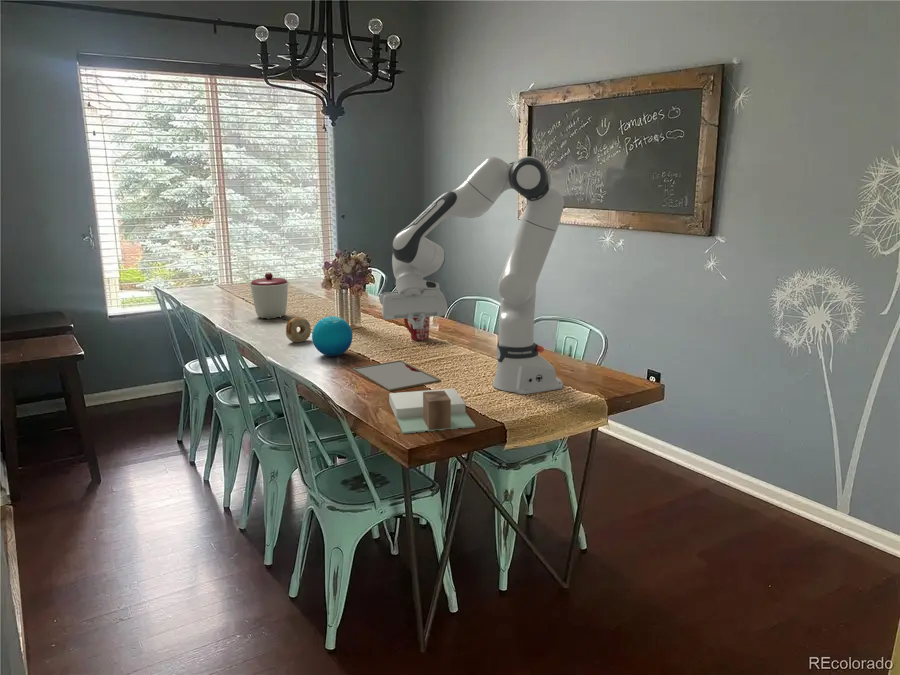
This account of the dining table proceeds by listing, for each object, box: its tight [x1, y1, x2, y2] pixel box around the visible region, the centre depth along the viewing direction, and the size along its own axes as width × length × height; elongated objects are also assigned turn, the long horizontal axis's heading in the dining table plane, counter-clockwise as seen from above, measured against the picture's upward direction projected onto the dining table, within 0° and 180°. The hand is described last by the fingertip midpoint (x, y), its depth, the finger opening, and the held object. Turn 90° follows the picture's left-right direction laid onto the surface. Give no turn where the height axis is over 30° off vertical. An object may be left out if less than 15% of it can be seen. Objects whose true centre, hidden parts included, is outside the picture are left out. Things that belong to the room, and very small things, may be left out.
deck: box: [388, 388, 466, 420], centre depth 199 cm, size 20×14×3 cm
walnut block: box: [423, 391, 451, 430], centre depth 185 cm, size 6×8×8 cm
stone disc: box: [285, 316, 312, 343], centre depth 274 cm, size 10×4×10 cm, turn 131°
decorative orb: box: [311, 315, 353, 357], centre depth 253 cm, size 15×15×15 cm
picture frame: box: [351, 359, 442, 392], centre depth 231 cm, size 19×1×28 cm
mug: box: [403, 317, 431, 341], centre depth 277 cm, size 13×9×14 cm
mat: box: [396, 412, 476, 435], centre depth 187 cm, size 20×10×1 cm, turn 103°
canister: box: [248, 272, 290, 319], centre depth 318 cm, size 18×18×21 cm
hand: (418, 327), depth 206 cm, fingers closed
